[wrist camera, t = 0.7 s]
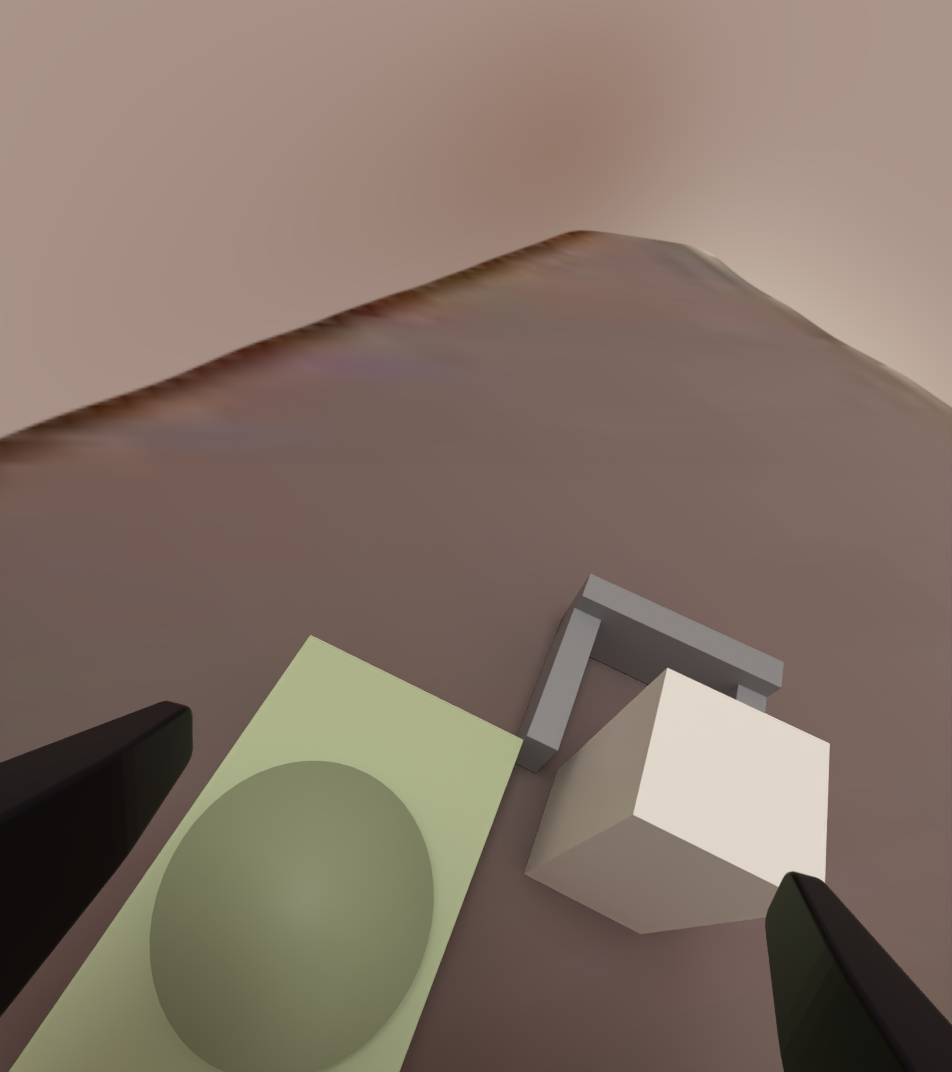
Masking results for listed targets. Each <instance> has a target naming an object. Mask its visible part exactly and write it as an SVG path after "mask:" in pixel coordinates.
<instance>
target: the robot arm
mask: <svg viewBox="0 0 952 1072" xmlns="http://www.w3.org/2000/svg"><path fill="white" fill-rule="evenodd" d="M192 751H193V714H192V711H191V709H190V708H189V707H188V706H185V705H182V704H178V703H174V702H171V701H163V702H159V703H157V704H154V705H151V706H149V707H146V708H144V709H141V710H138V711H136V712H133V713H130V714H128V715H125V716H122V717H120V718H117V719H115V720H112V721H109V722H107V723H104V724H101V725H99V726H96V727H93V728H91V729H88V730H85V731H83V732H80V733H78V734H75V735H72V736H70V737H67V738H64V739H62V740H59V741H56V742H54V743H51V744H48V745H46V746H43V747H41V748H38V749H35V750H33V751H30V752H27V753H25V754H22V755H19V756H17V757H14V758H11V759H9V760H6V761H4V762H1V763H0V1017H1V1016H2V1014H3V1013H4V1012H5V1011H6V1009H7V1008H8V1007H9V1005H10V1004H11V1003H12V1002H13V1000H14V999H15V998H16V997H17V995H18V994H19V993H20V992H21V990H22V989H23V988H24V987H25V985H26V984H27V983H28V981H29V980H30V979H31V978H32V976H33V975H34V974H35V973H36V971H37V970H38V969H39V968H40V966H41V965H42V964H43V963H44V961H45V960H46V959H47V957H48V956H49V955H50V954H51V952H52V951H53V950H54V949H55V947H56V946H57V945H58V944H59V942H60V941H61V940H62V938H63V937H64V936H65V935H66V933H67V932H68V931H69V930H70V928H71V927H72V926H73V925H74V923H75V922H76V921H77V920H78V918H79V917H80V916H81V914H82V913H83V912H84V911H85V909H86V908H87V907H88V906H89V904H90V903H91V902H92V901H93V899H94V898H95V897H96V896H97V894H98V893H99V892H100V890H101V889H102V888H103V887H104V885H105V884H106V883H107V882H108V880H109V879H110V878H111V877H112V875H113V874H114V873H115V872H116V870H117V869H118V868H119V866H120V865H121V864H122V862H123V861H124V860H125V858H126V857H127V856H128V854H129V853H130V852H131V850H132V849H133V847H134V846H135V844H136V843H137V841H138V840H139V838H140V837H141V835H142V834H143V832H144V831H145V829H146V828H147V826H148V825H149V823H150V821H151V820H152V818H153V817H154V815H155V814H156V812H157V811H158V809H159V808H160V806H161V805H162V803H163V801H164V800H165V798H166V797H167V795H168V794H169V792H170V791H171V789H172V788H173V786H174V785H175V783H176V781H177V780H178V778H179V777H180V775H181V774H182V772H183V771H184V769H185V768H186V766H187V764H188V763H189V760H190V758H191V755H192ZM765 929H766V939H767V947H768V955H769V964H770V972H771V981H772V989H773V998H774V1006H775V1014H776V1023H777V1031H778V1039H779V1046H780V1053H781V1059H782V1064H783V1069H784V1072H952V1025H951V1023H950V1022H949V1021H948V1020H947V1019H946V1018H945V1017H944V1016H943V1014H942V1013H941V1012H940V1011H939V1010H938V1009H937V1008H936V1007H935V1006H934V1004H933V1003H932V1002H931V1001H930V1000H929V999H928V998H927V997H926V995H925V994H924V993H923V992H922V991H921V990H920V989H919V988H918V986H917V985H916V984H915V983H914V982H913V981H912V980H911V979H910V978H909V976H908V975H907V974H906V973H905V972H904V971H903V970H902V969H901V967H900V966H899V965H898V964H897V963H896V962H895V961H894V960H893V959H892V957H891V956H890V955H889V954H888V953H887V952H886V951H885V950H884V948H883V947H882V946H881V945H880V944H879V943H878V942H877V941H876V940H875V938H874V937H873V936H872V935H871V934H870V933H869V932H868V931H867V929H866V928H865V927H864V926H863V925H862V924H861V923H860V922H859V920H858V919H857V918H856V917H855V916H854V915H853V914H852V913H851V912H850V910H849V909H848V908H847V907H846V906H845V905H844V904H843V903H842V901H841V900H840V899H839V898H838V897H837V896H836V895H835V894H834V893H833V891H832V890H831V889H830V888H829V887H828V886H827V885H826V884H825V883H824V882H823V881H822V880H821V879H819V878H817V877H814V876H810V875H806V874H803V873H799V872H795V871H789V872H787V873H786V874H785V875H784V877H783V879H782V881H781V883H780V885H779V887H778V889H777V891H776V893H775V895H774V897H773V899H772V902H771V904H770V906H769V908H768V910H767V914H766V920H765Z"/></svg>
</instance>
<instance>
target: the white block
mask: <svg viewBox="0 0 952 1072" xmlns="http://www.w3.org/2000/svg"><path fill="white" fill-rule="evenodd" d="M829 746H830V744H829V743H827V742H825V741H823V740H821V739H819V738H816V737H814V736H812V735H810V734H808V733H806V732H804V731H801V730H799V729H797V728H795V727H793V726H791V725H789V724H786V723H784V722H782V721H780V720H778V719H776V718H774V717H772V716H769V715H767V714H765V713H763V712H761V711H759V710H757V709H754V708H752V707H750V706H748V705H746V704H744V703H742V702H740V701H737V700H735V699H733V698H731V697H729V696H727V695H725V694H722V693H720V692H718V691H716V690H714V689H712V688H710V687H708V686H705V685H703V684H701V683H699V682H697V681H695V680H693V679H690V678H688V677H686V676H684V675H682V674H680V673H678V672H676V671H673V670H671V669H669V668H667V669H665V670H664V671H663V672H662V673H661V674H660V675H659V676H658V677H657V678H656V679H655V680H654V681H653V682H651V683H650V684H649V685H648V686H647V687H646V688H645V689H644V690H643V691H642V692H641V693H640V694H639V695H638V696H636V697H635V698H634V699H633V700H632V701H631V702H630V703H629V704H628V705H627V706H626V707H625V708H624V709H622V710H621V711H620V712H619V713H618V714H617V715H616V716H615V717H614V718H613V719H612V720H611V721H610V722H608V723H607V724H606V725H605V726H604V727H603V728H602V729H601V730H600V731H599V732H598V733H597V734H596V735H594V736H593V737H592V738H591V739H590V740H589V741H588V742H587V743H586V744H585V745H584V746H583V747H582V748H581V749H579V750H578V751H577V752H576V753H575V754H574V755H573V756H572V757H571V758H570V759H569V760H568V761H567V762H565V763H564V764H563V765H562V766H561V767H560V768H559V769H558V770H557V773H556V776H555V779H554V782H553V786H552V789H551V792H550V795H549V798H548V801H547V804H546V807H545V810H544V813H543V816H542V819H541V822H540V825H539V829H538V832H537V835H536V838H535V841H534V844H533V847H532V850H531V853H530V856H529V859H528V862H527V865H526V868H525V872H524V874H525V875H527V876H528V877H530V878H532V879H534V880H536V881H538V882H540V883H542V884H544V885H546V886H548V887H550V888H552V889H554V890H556V891H558V892H559V893H561V894H563V895H565V896H567V897H569V898H571V899H573V900H575V901H577V902H579V903H581V904H583V905H585V906H587V907H589V908H590V909H592V910H594V911H596V912H598V913H600V914H602V915H604V916H606V917H608V918H610V919H612V920H614V921H616V922H618V923H620V924H621V925H623V926H625V927H627V928H629V929H631V930H633V931H635V932H637V933H639V934H646V933H654V932H661V931H669V930H676V929H683V928H691V927H698V926H705V925H713V924H720V923H727V922H735V921H742V920H749V919H757V918H764V917H766V914H767V910H768V908H769V906H770V904H771V902H772V899H773V897H774V895H775V893H776V891H777V889H778V887H779V885H780V883H781V881H782V879H783V877H784V875H785V874H786V873H787V872H789V871H795V872H799V873H803V874H806V875H810V876H814V877H817V878H819V879H821V880H822V881H823V882H824V883H825V862H826V833H827V804H828V775H829Z"/></svg>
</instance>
